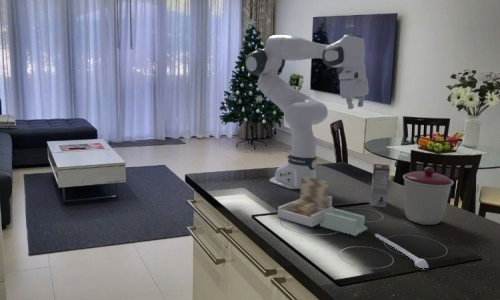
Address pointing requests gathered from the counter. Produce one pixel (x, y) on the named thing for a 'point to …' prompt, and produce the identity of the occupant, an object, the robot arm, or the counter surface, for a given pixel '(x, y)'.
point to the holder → (344, 222)
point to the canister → (426, 196)
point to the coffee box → (379, 185)
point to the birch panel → (314, 191)
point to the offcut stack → (303, 208)
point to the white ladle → (418, 262)
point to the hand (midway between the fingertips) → (355, 107)
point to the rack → (311, 221)
